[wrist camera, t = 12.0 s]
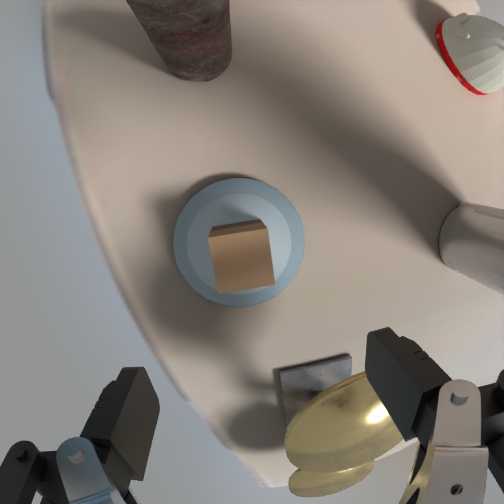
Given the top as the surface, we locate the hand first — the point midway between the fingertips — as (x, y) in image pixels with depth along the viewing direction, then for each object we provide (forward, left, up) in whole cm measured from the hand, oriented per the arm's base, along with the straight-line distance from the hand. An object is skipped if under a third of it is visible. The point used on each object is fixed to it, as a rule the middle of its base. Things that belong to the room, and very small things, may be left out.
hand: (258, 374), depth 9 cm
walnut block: (0, 0, -21) cm, 21 cm away
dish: (0, 0, -23) cm, 23 cm away
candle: (-17, -14, -23) cm, 32 cm away
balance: (+15, +20, -23) cm, 34 cm away
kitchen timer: (-44, +18, -23) cm, 53 cm away
